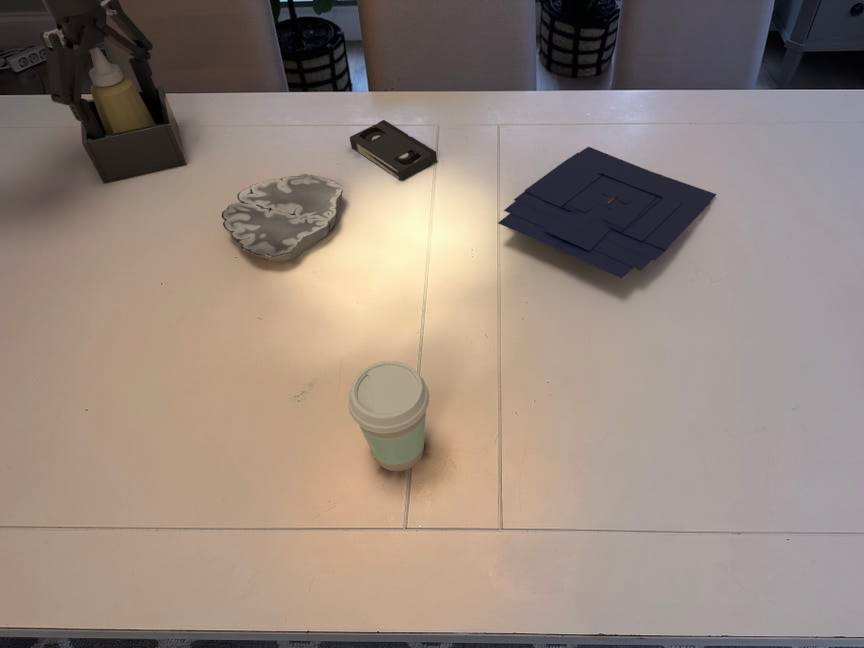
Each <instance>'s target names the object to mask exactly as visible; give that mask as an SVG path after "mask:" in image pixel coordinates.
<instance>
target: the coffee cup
mask: <svg viewBox="0 0 864 648" xmlns="http://www.w3.org/2000/svg"><path fill="white" fill-rule="evenodd" d="M347 397H348V398H347V407H348V408H347V409H348V412H349V414H350V417H351V418H352V420H353V421H354V422H355V423H356V424H357V426H359V428H360V430H361V432H362V434H363V437H364V439H365V440H366V442H367V445H368V447H369V449H370V451H371V453H372V454H373V456H374V458H375V460H376V462H377V463H378V465H379V466H380V467H382V468H383V469H385V470H387V471H391V472H404V471H407V470H409V469H412V468H413V467H415V466H416V465H417V464H418V463H419V462H420V461H421V459H422V457H423V455H424V450H425V434H426V419H427V418H426V417H427V409H428V407H429V403H430V392H429V388H428V386H427V383H426V382H425V380H424V378H423V377H422V376H421V375H420V373H418V372H417V371H416V369H414V368H413V367H412V366H411V365H409V364H407V363H404V362H401V361H395V360H383V361H379V362H375V363H372V364H370V365H369V366H367V367H364V369H362V370H361V371H360V372H359V373H357V375H356V376H355V378H354V379H353V381H352V383H351V387H350V389H349V391H348V396H347Z"/></svg>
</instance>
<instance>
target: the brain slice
mask: <svg viewBox="0 0 864 648" xmlns="http://www.w3.org/2000/svg"><path fill="white" fill-rule="evenodd" d="M343 189H344V186H342V184H340V183H339V182H336V181H335V180H332V179H330V178H329V179H328V178H324V177H321V176H317V175H313V174H307V173H301V174H299V175H293V176H291V175H290V176H284V177H281V178H272V179H269V180H266V181H262V182H257V183H255V184H252V185H250V186H249V187H247V188H246V187H245V188H244V189H242V190H240V191H239V192H238V194H237V195H236V196H237V200H238V201H239V202H234V203H232V204H229V205H228V206H227V207H226V209H224V210H223V211H222V212H221V218H222V219H223V220H224V221H223V222H222V226H223V228H224V229H225V231H227V232H229V233H230V236H231V238H232V239H233V240H235V242H236V243H237V244H238V245H239V246H240V248H241V249H242V250H243V251H245V252H246V253H248V254H250V255H252V256H256V257H258V258H263V259H267V260H268V261H270V262H287V261H291V260H295V259H297V258H298V257H299V256H300V255H301V254H303V253H304V252H306V251H308V250H309V249H310V248H311V247H314V246H315V245H317V243H319V242H320V240H322V239H323V238H324V237H326V235H328V233H329V231H331V229H332V228H333V227H334V225H335V224H336V219H337V213H338V212H339V206H340V204H341V203H342V199H343V191H344V190H343Z"/></svg>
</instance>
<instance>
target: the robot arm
mask: <svg viewBox="0 0 864 648" xmlns="http://www.w3.org/2000/svg"><path fill="white" fill-rule="evenodd" d="M41 1H42V3H43V4H44V7H45V9H46V10H47V11H46V12H48V13H49V14H50V16H51V17H52V18H53V20H54V23H55V28H54V29H52V30H50V31H45V30H41V31H39V38H40V40H41V43H42V45H43V48H44V51H45V61H46V68H47V75H48V76H47V77H48V84H49V91H50V97H51V98H50V99H51V101H52V102H53V103H56V104H60V105H64V106H68V107H69V109H70V111H71V113H72V115H73V116H74V118H75V120H77V122H80V123H81V122H82V123H83V125H84V127H85V129H86V131H87V133H88V135H89V136H91V137H95V138H96V137H100V136H104V134H103V131H102V129H101V127H100V125H99V123H98V121H97V119H96V117H95V115H94V113H93V111H92V109H91V107H90V105H89V103H88V101H87V100H88V99H86V98H84V97H83V98H82V95H83V94H82V93H83V85H84V83H83V82H84V73H85V72H84V71H85V61H86V58H88V56H89V51H90V50H91V49H92V48H94V47H95V46H97V45H98V44H102V43H104V42H105V41H108V42H110V43H111V44H113V45H114V46H115V47H117V48H119V49H120V50H122V51H123V52H125V53H126V54H128V55H129V56H131V58H129V59H128V62H129V65H130V67H131V69H132V72H133V74H134V76H135V78H136V81H137V83H138V85H139V88H140V90H142V93H143V95H144V97H148V98H152V99H158V98H159V95H158V93H157V90H156V88H155V87H156V86H155V83H154V81H153V78H152V76H153V71H152V68H151V66H150V63H149V60H151V57H152V56H151V53H150V52H149V51H152V50H153V47H154V46H153V43H152V42H151V41H150V39H149V38H148V37H147V36H146V35H145V34H144V33H143V31H141V30H140V28H139V27H138V26H137V25H136V24H135V23H134V22H133V21H132V20H131V18H130V17H129V15H127V14H126V13H125V11H124V9H123V7H122V5H121V3H120V0H41ZM107 16H108V17H109V18H110V19H111V21H113V23H114V24H115V25H116V26H117V27H118V28H119V29H120V30H121V31H122V32H123V34H125V35H126V37H127V38H128V39H127V38H126V37H124V36H123V35H122V34H120V33H119V32H118V30H116V29H114V28H112V26H110V25H108V24H107ZM74 46H75V48H74ZM76 48H77V49H76Z"/></svg>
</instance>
